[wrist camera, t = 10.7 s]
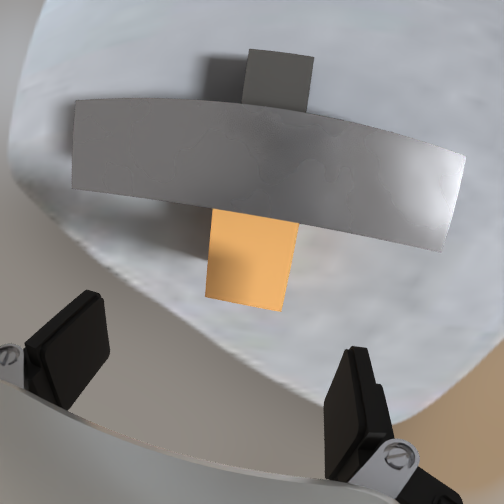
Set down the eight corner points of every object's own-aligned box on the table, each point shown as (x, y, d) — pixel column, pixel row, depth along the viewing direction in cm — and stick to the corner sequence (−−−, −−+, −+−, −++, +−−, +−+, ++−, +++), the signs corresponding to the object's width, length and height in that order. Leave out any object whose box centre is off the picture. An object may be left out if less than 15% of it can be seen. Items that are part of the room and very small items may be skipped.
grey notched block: (142, 104, 17) (75, 100, 11) (412, 145, 16) (466, 156, 10) (136, 167, 18) (71, 188, 12) (398, 211, 17) (441, 252, 11)
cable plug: (248, 60, 15) (234, 42, 12) (320, 70, 15) (326, 54, 11) (222, 265, 20) (205, 296, 16) (285, 277, 20) (281, 311, 16)
